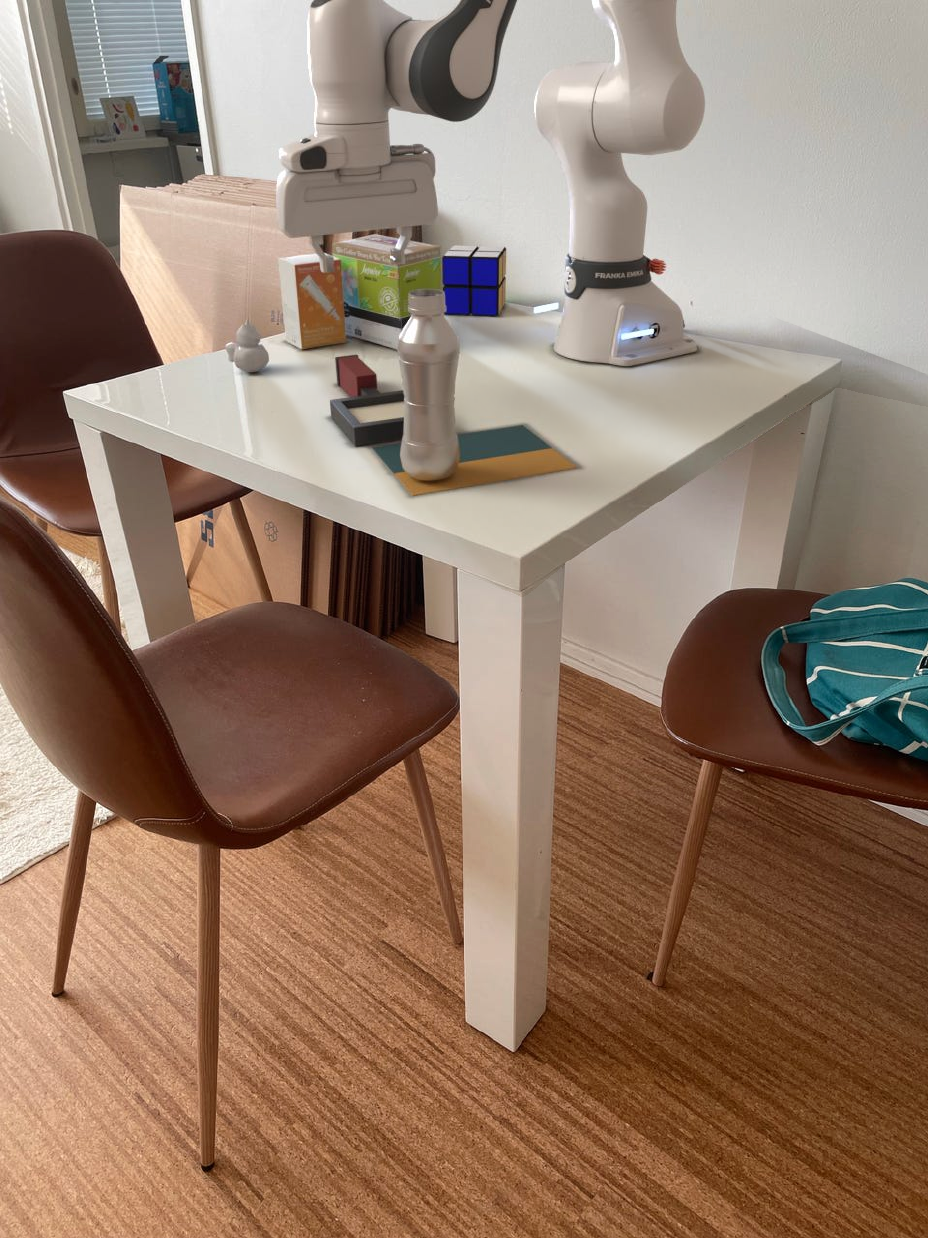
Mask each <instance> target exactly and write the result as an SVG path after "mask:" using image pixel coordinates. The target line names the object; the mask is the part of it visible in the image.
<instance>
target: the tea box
mask: <svg viewBox="0 0 928 1238" xmlns="http://www.w3.org/2000/svg"><path fill="white" fill-rule="evenodd" d="M398 240H399V238H398V237H393V236H387V235H382V234H376V233H374V234H373V233H372V234H370V235H366V236H360V237H357V238H351V239H349V240H348V239H347V240H343V241H339V242H338V241H337V242H332V243H331V244H332V256H334V257H336V258H339V259H341V271H342V286H343V302H344V318H345V334H346V336H350V337H353V338H357V339H360V340H364V341H368V342H370V343H374V344H378V345H381V346H384V347H387V348H390V349H393V350H395V351H397V344H398V340H399V336H400V334H401V332H402V331H403V329H404V327H405V325H406V324H407V322H408V321H409V319H410V318H411V313H409V312H408V306H409V299H408V295H409V292H410V291H413V290H418V289H437V290H442V257H441V256H442V252H441V251H442V249H441V245H436V244H430V243H425V242H419V241H415V240H410V241H409V243H408V245H407V248H406V250H405V264H399V265H393V264H392V263H391V260H390V257H391V255H390V249H392V248H396V245H397V243H398Z"/></svg>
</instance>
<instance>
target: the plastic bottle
mask: <svg viewBox="0 0 928 1238" xmlns="http://www.w3.org/2000/svg"><path fill="white" fill-rule="evenodd" d="M408 299H409V306H408V312H409V313H411V318H410V319H409V321H408V322H407V324H406V325H405V327H404V329H403V331H402V332H401V334H400V336H399V340H398V344H397V350H396V351H397V356H398V364H399V368H400V374H401V380H402V390H403V393H404V396H405V397H404V405H405V410H404V428H403V437H402V439H401V442H400V443H401V450H400V458H401V463H402V467H403V469H404V471H405V472H406V473H407V474H408V476H410V477H412V478H414V479H418V480H426V481H432V480H441V479H445V478H448V477H450V476H451V475H453V474H454V472H455V471H456V469H457V468H458V465H459V459H460V447H459V441H458V436H457V435H458V433H457V423H456V411H455V399H456V397H455V395H456V379H457V373H458V372H457V371H458V365H459V358H460V356H459V355H460V349H461V348H460V347H461V343H460V340H459V336H458V334H457V332H456V331H455V330H454V328H453V326H452V325H451V323H450V322H449V321H448V319H447V318H446V317H445V314H444V312H446V305H445V292H444V291H443V289H441V290H437V289H418V290H413V291H410V292H409V295H408Z"/></svg>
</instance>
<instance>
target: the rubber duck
mask: <svg viewBox="0 0 928 1238" xmlns="http://www.w3.org/2000/svg"><path fill="white" fill-rule="evenodd" d="M261 338H262V335H261V334H260V332H258V330H257V329H256V327H255V325H254V324H252V323H251V322H250V319H249V316H247V317H246V320H245V323H244V322H243V323H242V324H241V326H240V327H239V328H238V330H237V331H236V342H237V343H236V342H229V343H227V344H225V346H224V347H225V351H226V353H227V355H228V361H229V362H231V363H234V365H235V367H236V368H237V369H240V370H241V371H244V372H246V373H247V372H248V373H257V372H259V371H261V370H263V369H264V368H265V367H266V366H267V365H268V363H269V362H270V357H269V352H268V350H267V349H266V348H265V347H264V344H262V343H260V342H261Z"/></svg>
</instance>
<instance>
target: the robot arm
mask: <svg viewBox="0 0 928 1238" xmlns="http://www.w3.org/2000/svg"><path fill="white" fill-rule="evenodd" d="M517 2H518V0H456V2H455V4H454V5H453V6H452V7H451V8H450V10H448V11H447V12H446V13H445V14H443V15H442V16H440V17H438V18H436V19H425V20H423V19H413V17H412V16H410V15H408V14H405V13H403V12H401V11H399V10H397V9H396V8H394V7H393V6H391V5H390V4H388V3H387V2H386V1H385V0H312V1H311V3H310V6H309V9H308V14H307V55H308V69H309V77H310V78H309V79H310V80H309V81H310V84H311V87H312V89H313V93H314V96H315V110H314V111H315V112H314V117H313V119H314V121H313V122H314V130H315V132H314V133H311V134H309V135H307V136H305V137H303V138H300V139H298V140H296V141H293V142H291V143H289V144H287V145H284V146H283V147H281V148H280V149H279V153H278V155H279V162H280V164H281V166H283V168H285V169H284V170H281V172H280V173H279V176H278V178H277V181H276V191H275V194H276V196H275V199H276V201H275V202H276V204H275V205H276V206H275V207H276V220H277V226H278V229H279V230H280V231H281V232H282V233H283V235H285V236H286V237H288V238H290V239H297V238H308V239H307V240H308V244H309V245H310V247H311V248H312V249H313V251H314V254H317V255H318V257H319V261H320V269H321V271H322V272H323V273H327V272H334V271H335V267H334V266H333V264H334V258H333V257H331V256H332V255H331V254H329V255H325V254H324V253H325V252H324V250H323V249H322V248H321V246H320V245H324V236H328V235H335V234H336V235H338V234H348V233H358V232H359V233H360V232H368V231H377V230H378V231H379V230H387V229H389V230H390V229H396V234H398V235H400V236H399V238H398V239H399V240H398V243H397V245H396V248H392V249H390V255H391V257H390V260H391V263H392V264H393V265H399V264H405V250H406V248H407V245H408V243H409V241H411V240H412V237H413V227H417V226H418V227H420V226H427V225H433V224H434V222H436V219H437V218H438V215H439V207H438V198H437V190H436V186H435V180H434V179H435V176H436V157H435V155H434V153H433V151H432V150H431V149H430V148H428V147H425V146H424V144H422V143H413V144H407V145H406V144H396V145H391V137H390V121H389V120H390V119H389V112H390V110H391V109H392V110H396V111H399V112H406V113H412V114H417V115H427V116H431V117H435V118H437V119H441V120H444V121H448V122H452V123H455V122H456V123H461V122H463V121H464V122H465V121H467V120H470V119H471V118H473V117H474V116H476V115H477V114H479V112H481V110H482V109H483V108H484V107H485V106H486V104H487V103H488V101H489V99H490V97H491V95H492V93H493V91H494V87H495V84H496V81H497V76H498V71H499V64H500V57H501V52H502V46H503V43H504V38H505V35H506V33H507V30H508V26H509V24H510V21H511V18H512V15H513V13H514V10H515V8H516V6H517ZM591 3H592V7H593V10H594V12H595V14H596V16H597V17H598V19H599V20H600V21H601V22H602V23H603V24H604V25H606V26H607V28H609V29H611V30H612V31H611V32H612V34H613V38H614V43H615V58H614V61H577V62H574V63H570V64H566V65H562V66H559V67H556V68H553V69H551V70H550V71H548V72H547V73H546V74H545V75H544V76H543V78H542V79H541V81H540V83H539V85H538V88H537V90H536V93H535V98H534V106H533V107H534V109H533V110H534V119H535V123H536V126H537V129H538V131H539V132H540V134H541V136H542V137H543V138H544V139H545V141H547V142H548V143H549V145H550V146H551V147H552V150H553V151H554V153H555V155H556V156H557V158H558V161H559V163H560V166H561V168H562V171H563V175H564V178H565V182H566V186H567V191H568V198H569V199H568V200H569V240H568V241H569V242H568V243H569V244H568V253H567V254H566V255H565V263H564V264H565V266H564V276H563V277H564V279H563V281H564V282H563V288H564V291H563V292H564V303H563V309H562V313H561V314H562V315H561V319H560V325H559V329H558V331H557V336H556V337H555V338H556V339H555V342H554V345H553V346H552V347H553V351H554V352H555V353H557V354H558V355H560V356H562V357H565V358H568V359H570V360H571V359H572V360H576V361H581V362H586V363H587V362H588V363H601V364H610V365H615V366H620V367H632V366H636V365H642V364H645V363H651V362H654V361H660V360H663V359H670V358H673V357H677V356H678V357H679V356H681V355H687V354H690V353H691V354H692V353H695V352H697V350H698V349H697V346H698V345H697V341H695V340H694V338H692V337H690V336H689V335H687V334H685V333H684V332H685V331H684V329H685V328H686V324H685V320H684V315H683V310H682V309H681V307H680V306H679V304H678V303H676V301H674V300H673V299H672V298H671V297H670V296H668V294H666V293H665V292H664V291H663V290H662V289H661V288H660V287H659V286H658V285H656V284H655V283H654V281H652V275H651V273H653V274H655V275H658V276H660V275H662V274H664V273H665V271H666V268H667V263H666V262H665V261H664V260H663V259H662V260H661V259H658V258H653V259H650V258H649V257H648V256H646V255H645V254H644V250H645V241H646V240H645V238H646V228H647V218H648V202H647V198H646V196H645V193H644V192H643V190H642V189H640V187H639V186H638V185H636V184H635V182H633V181H632V180H631V179H630V177H629V176H628V174H627V172H626V168H625V167H624V163H623V157H622V154H630V155H640V156H656V155H663V154H669V153H672V152H673V153H674V152H678V151H681V150H684V149H685V148H687V147H688V146H689V145H690V143H691V142H692V141H693V140H694V139H695V138H696V136H697V135H698V132H699V131H700V128H701V126H702V123H703V120H704V115H705V110H706V97H705V91H704V87H703V85H702V82H701V80H700V79H699V77H698V75H697V74H696V73H695V72H694V71H693V69H692V68H691V67H690V65H689V64H688V62H687V60H686V58H685V56H684V54H683V50H682V48H681V44H680V40H679V35H678V28H677V27H678V26H677V3H678V0H591ZM330 255H331V256H330ZM558 309H559V302H554V303H550V304H549V303H548V304H545V305H539V306H535V307H533V313H534V314H538V313H542V312H543V313H545V312H548V311H554V310H558Z"/></svg>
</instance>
